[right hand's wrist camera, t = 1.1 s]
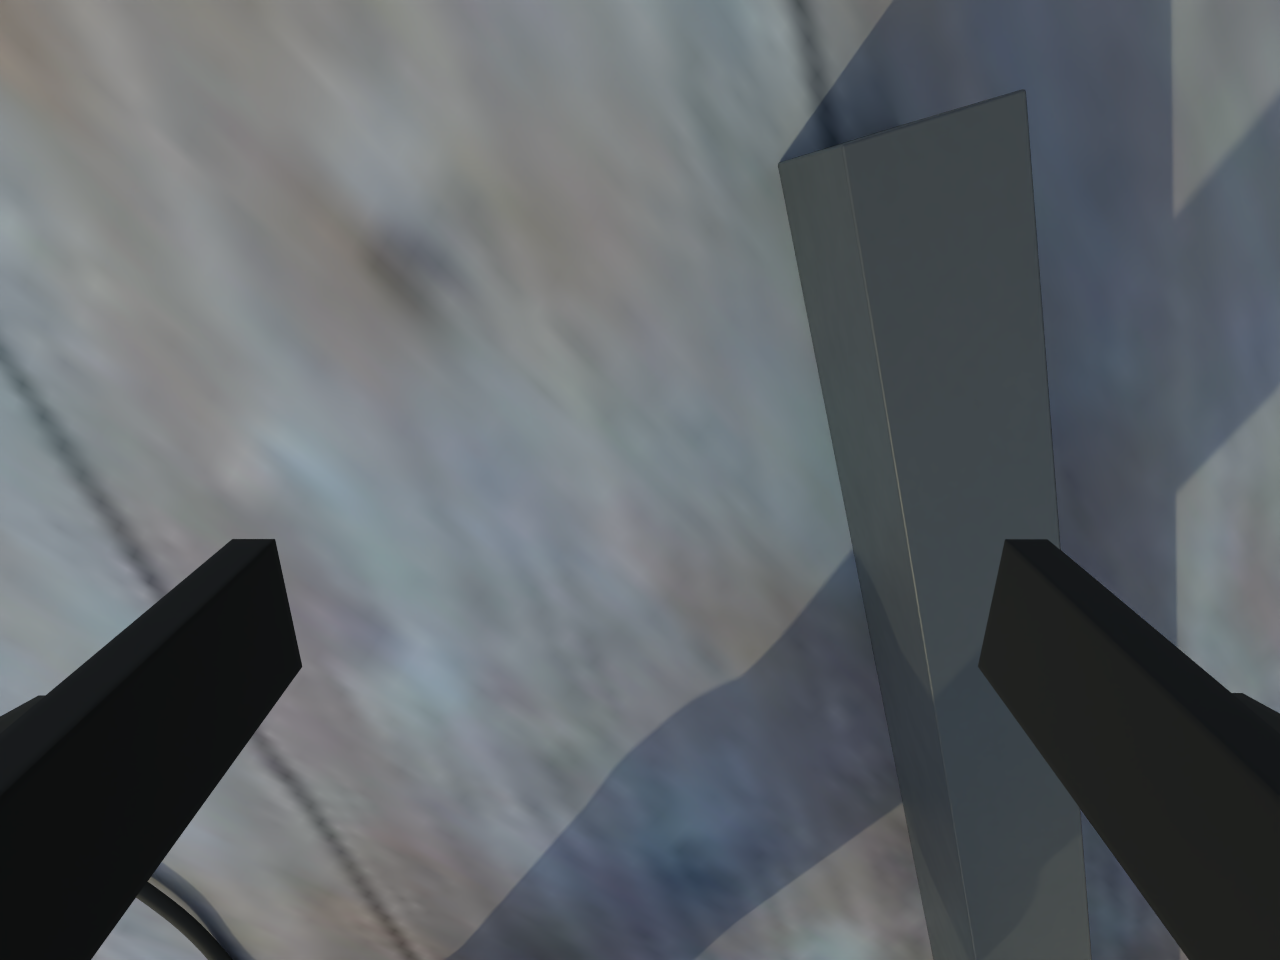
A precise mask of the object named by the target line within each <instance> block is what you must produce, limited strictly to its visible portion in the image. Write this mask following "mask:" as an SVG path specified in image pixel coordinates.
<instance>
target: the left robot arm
mask: <svg viewBox="0 0 1280 960" xmlns="http://www.w3.org/2000/svg"><path fill="white" fill-rule="evenodd" d="M136 898H138V899H139V900H140V901H142V902H143V903H145V904H146V905H147V906H149V907H150V908H152V909H153V910H154V911H156V912H157V913H158V914H160V915H161V916H162V917H163V918H165V919H166V920H167V921H169V922H170V923H171V924H172V925H173V926H175V927H176V928H177V929H178V930H179V931H180V932H181V933H183V934H184V935H185V936H186V937H187V938H188V939H189V940H190V941H191V942H192V943H193V944H194V945H195V946H196V947H197V948H198V949H199V950H200V951H201V952H202V954H203V955H204V956H205V957H206V958H207V959H208V960H233V959H232V958H231V957H230V956H229V955H228V953H227V952H226V951H225V950H224V949H223V948H222V946H221V945H220V944H219V943H218V942H217V941H216V940H215V939H214V937H213V936H212V935H211V934H210V933H209V932H208V931H207V930H206V929H205V928H204V927H203V926H202V925H201V924H200V923H199V922H198V921H197V920H196V919H195V918H194V917H192V916H191V915H190V914H189V913H188V912H187V911H186V910H184V909H183V908H182V907H181V906H179V905H178V904H177V903H176V902H174V901H173V900H172V899H171V898H169V897H168V896H167V895H165V894H164V893H163V892H161V891H160V890H158V889H157V888H156V887H154V886H153V885H151V884H150V883H149V882H147V883H146V884H145V885H144V887H143V888H142V890H141V891H140V892H139V894H138V895H137V896H136Z"/></svg>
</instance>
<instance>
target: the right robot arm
mask: <svg viewBox="0 0 1280 960" xmlns="http://www.w3.org/2000/svg"><path fill="white" fill-rule="evenodd" d="M301 668H302V663H301V659H300V654H299V649H298V645H297V640H296V635H295V630H294V626H293V621H292V616H291V612H290V607H289V602H288V598H287V593H286V588H285V584H284V579H283V574H282V570H281V565H280V560H279V555H278V551H277V546H276V541H275V539H232V540H231V541H230V542H228V543H227V544H226V545H225V546H224V547H223V548H221V549H220V550H219V551H218V552H217V553H215V554H214V555H213V556H212V557H211V558H209V559H208V560H207V561H206V562H205V563H203V564H202V565H201V566H200V567H199V568H197V569H196V570H195V571H194V572H193V573H191V574H190V575H189V576H188V577H187V578H185V579H184V580H183V581H182V582H181V583H180V584H178V585H177V586H176V587H175V588H174V589H172V590H171V591H170V592H169V593H168V594H166V595H165V596H164V597H163V598H162V599H160V600H159V601H158V602H157V603H156V604H154V605H153V606H152V607H151V608H150V609H148V610H147V611H146V612H145V613H144V614H142V615H141V616H140V617H139V618H138V619H137V620H135V621H134V622H133V623H132V624H131V625H129V626H128V627H127V628H126V629H125V630H123V631H122V632H121V633H120V634H119V635H117V636H116V637H115V638H114V639H113V640H111V641H110V642H109V643H108V644H107V645H105V646H104V647H103V648H102V649H101V650H99V651H98V652H97V653H96V654H95V655H94V656H92V657H91V658H90V659H89V660H88V661H86V662H85V663H84V664H83V665H82V666H80V667H79V668H78V669H77V670H76V671H74V672H73V673H72V674H71V675H70V676H68V677H67V678H66V679H65V680H64V681H62V682H61V683H60V684H59V685H58V686H56V687H55V688H54V689H53V690H52V691H51V692H49V693H48V694H47V695H46V696H37V697H35V698H33V699H31V700H30V701H28V702H26V703H24V704H22V705H21V706H19V707H17V708H15V709H13V710H11V711H10V712H8V713H6V714H4V715H2V716H1V717H0V960H91V959H92V958H93V956H94V955H95V953H96V952H97V951H98V949H99V948H100V946H101V945H102V944H103V942H104V941H105V939H106V938H107V937H108V935H109V934H110V933H111V931H112V930H113V928H114V927H115V926H116V924H117V923H118V921H119V920H120V919H121V917H122V916H123V915H124V913H125V912H126V910H127V909H128V908H129V906H130V905H131V903H132V902H133V901H134V899H135V898H136V896H137V895H138V894H139V892H140V891H141V890H142V888H143V887H144V885H145V884H146V883H147V881H148V880H149V878H150V877H151V876H152V874H153V873H154V872H155V870H156V869H157V867H158V866H159V865H160V863H161V862H162V860H163V859H164V858H165V856H166V855H167V853H168V852H169V851H170V849H171V848H172V847H173V845H174V844H175V842H176V841H177V840H178V838H179V837H180V835H181V834H182V833H183V831H184V830H185V828H186V827H187V826H188V824H189V823H190V822H191V820H192V819H193V817H194V816H195V815H196V813H197V812H198V810H199V809H200V808H201V806H202V805H203V804H204V802H205V801H206V799H207V798H208V797H209V795H210V794H211V792H212V791H213V790H214V788H215V787H216V785H217V784H218V783H219V781H220V780H221V779H222V777H223V776H224V774H225V773H226V772H227V770H228V769H229V767H230V766H231V765H232V763H233V762H234V761H235V759H236V758H237V756H238V755H239V754H240V752H241V751H242V749H243V748H244V747H245V745H246V744H247V742H248V741H249V740H250V738H251V737H252V736H253V734H254V733H255V731H256V730H257V729H258V727H259V726H260V724H261V723H262V722H263V720H264V719H265V718H266V716H267V715H268V713H269V712H270V711H271V709H272V708H273V706H274V705H275V704H276V702H277V701H278V699H279V698H280V697H281V695H282V694H283V693H284V691H285V690H286V688H287V687H288V686H289V684H290V683H291V681H292V680H293V679H294V677H295V676H296V675H297V673H298V672H299V670H300V669H301ZM978 668H979V669H980V670H981V672H982V673H983V675H984V676H985V677H986V679H987V680H988V681H989V683H990V684H991V686H992V687H993V688H994V690H995V691H996V693H997V694H998V695H999V697H1000V698H1001V699H1002V701H1003V702H1004V704H1005V705H1006V706H1007V708H1008V709H1009V711H1010V712H1011V713H1012V715H1013V716H1014V718H1015V719H1016V720H1017V722H1018V723H1019V724H1020V726H1021V727H1022V729H1023V730H1024V731H1025V733H1026V734H1027V736H1028V737H1029V738H1030V740H1031V741H1032V742H1033V744H1034V745H1035V747H1036V748H1037V749H1038V751H1039V752H1040V754H1041V755H1042V756H1043V758H1044V759H1045V761H1046V762H1047V763H1048V765H1049V766H1050V767H1051V769H1052V770H1053V772H1054V773H1055V774H1056V776H1057V777H1058V779H1059V780H1060V781H1061V783H1062V784H1063V785H1064V787H1065V788H1066V790H1067V791H1068V792H1069V794H1070V795H1071V797H1072V798H1073V799H1074V801H1075V802H1076V804H1077V805H1078V806H1079V808H1080V809H1081V810H1082V812H1083V813H1084V815H1085V816H1086V817H1087V819H1088V820H1089V822H1090V823H1091V824H1092V826H1093V827H1094V828H1095V830H1096V831H1097V833H1098V834H1099V835H1100V837H1101V838H1102V840H1103V841H1104V842H1105V844H1106V845H1107V847H1108V848H1109V849H1110V851H1111V852H1112V853H1113V855H1114V856H1115V858H1116V859H1117V860H1118V862H1119V863H1120V865H1121V866H1122V867H1123V869H1124V870H1125V871H1126V873H1127V874H1128V876H1129V877H1130V878H1131V880H1132V881H1133V883H1134V884H1135V885H1136V887H1137V888H1138V890H1139V891H1140V892H1141V894H1142V895H1143V896H1144V898H1145V899H1146V901H1147V902H1148V903H1149V905H1150V906H1151V908H1152V909H1153V910H1154V912H1155V913H1156V915H1157V916H1158V917H1159V919H1160V920H1161V921H1162V923H1163V924H1164V926H1165V927H1166V928H1167V930H1168V931H1169V933H1170V934H1171V935H1172V937H1173V938H1174V939H1175V941H1176V942H1177V944H1178V945H1179V946H1180V948H1181V949H1182V951H1183V952H1184V953H1185V955H1186V956H1187V958H1188V959H1189V960H1280V713H1278V712H1276V711H1274V710H1272V709H1270V708H1269V707H1267V706H1265V705H1263V704H1261V703H1259V702H1258V701H1256V700H1254V699H1252V698H1250V697H1248V696H1247V695H1245V694H1243V693H1231V692H1229V691H1228V690H1227V689H1226V688H1225V687H1224V686H1222V685H1221V684H1220V683H1219V682H1218V681H1216V680H1215V679H1214V678H1213V677H1212V676H1210V675H1209V674H1208V673H1207V672H1206V671H1204V670H1203V669H1202V668H1201V667H1200V666H1198V665H1197V664H1196V663H1195V662H1194V661H1192V660H1191V659H1190V658H1189V657H1188V656H1186V655H1185V654H1184V653H1183V652H1182V651H1181V650H1179V649H1178V648H1177V647H1176V646H1175V645H1173V644H1172V643H1171V642H1170V641H1169V640H1167V639H1166V638H1165V637H1164V636H1163V635H1161V634H1160V633H1159V632H1158V631H1157V630H1155V629H1154V628H1153V627H1152V626H1151V625H1149V624H1148V623H1147V622H1146V621H1145V620H1143V619H1142V618H1141V617H1140V616H1139V615H1138V614H1136V613H1135V612H1134V611H1133V610H1132V609H1130V608H1129V607H1128V606H1127V605H1126V604H1124V603H1123V602H1122V601H1121V600H1120V599H1118V598H1117V597H1116V596H1115V595H1114V594H1112V593H1111V592H1110V591H1109V590H1108V589H1106V588H1105V587H1104V586H1103V585H1102V584H1100V583H1099V582H1098V581H1097V580H1096V579H1095V578H1093V577H1092V576H1091V575H1090V574H1089V573H1087V572H1086V571H1085V570H1084V569H1083V568H1081V567H1080V566H1079V565H1078V564H1077V563H1075V562H1074V561H1073V560H1072V559H1071V558H1069V557H1068V556H1067V555H1066V554H1065V553H1063V552H1062V551H1061V550H1060V549H1059V548H1057V547H1056V546H1055V545H1054V544H1053V543H1052V542H1050V541H1049V540H1048V539H1005V541H1004V546H1003V551H1002V556H1001V560H1000V565H999V570H998V574H997V579H996V584H995V588H994V593H993V598H992V602H991V607H990V612H989V616H988V621H987V626H986V630H985V635H984V640H983V645H982V649H981V654H980V659H979V663H978Z"/></svg>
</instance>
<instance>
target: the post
mask: <svg viewBox="0 0 1280 960" xmlns="http://www.w3.org/2000/svg"><path fill="white" fill-rule="evenodd" d="M778 168H779V173H780V178H781V183H782V188H783V193H784V198H785V203H786V209H787V214H788V219H789V224H790V229H791V234H792V239H793V244H794V249H795V255H796V260H797V265H798V270H799V275H800V280H801V285H802V290H803V295H804V301H805V306H806V311H807V316H808V321H809V326H810V331H811V336H812V341H813V346H814V352H815V357H816V362H817V367H818V372H819V377H820V382H821V387H822V392H823V398H824V403H825V408H826V413H827V418H828V423H829V428H830V433H831V438H832V444H833V449H834V454H835V459H836V464H837V469H838V474H839V479H840V484H841V490H842V495H843V500H844V505H845V510H846V515H847V520H848V525H849V530H850V535H851V541H852V546H853V551H854V556H855V561H856V566H857V571H858V576H859V581H860V587H861V592H862V597H863V602H864V607H865V612H866V617H867V622H868V627H869V633H870V638H871V643H872V648H873V653H874V658H875V663H876V668H877V673H878V678H879V684H880V689H881V694H882V699H883V704H884V709H885V714H886V719H887V724H888V730H889V735H890V740H891V745H892V750H893V755H894V760H895V765H896V770H897V776H898V781H899V786H900V791H901V796H902V801H903V806H904V811H905V816H906V822H907V827H908V832H909V837H910V842H911V847H912V852H913V857H914V862H915V867H916V873H917V878H918V883H919V888H920V893H921V898H922V903H923V908H924V913H925V919H926V924H927V929H928V934H929V939H930V944H931V949H932V954H933V959H934V960H1092V958H1091V945H1090V932H1089V919H1088V905H1087V892H1086V879H1085V866H1084V853H1083V839H1082V826H1081V813H1080V808H1079V806H1078V805H1077V804H1076V802H1075V801H1074V799H1073V798H1072V797H1071V795H1070V794H1069V792H1068V791H1067V790H1066V788H1065V787H1064V785H1063V784H1062V783H1061V781H1060V780H1059V779H1058V777H1057V776H1056V774H1055V773H1054V772H1053V770H1052V769H1051V767H1050V766H1049V765H1048V763H1047V762H1046V761H1045V759H1044V758H1043V756H1042V755H1041V754H1040V752H1039V751H1038V749H1037V748H1036V747H1035V745H1034V744H1033V742H1032V741H1031V740H1030V738H1029V737H1028V736H1027V734H1026V733H1025V731H1024V730H1023V729H1022V727H1021V726H1020V724H1019V723H1018V722H1017V720H1016V719H1015V718H1014V716H1013V715H1012V713H1011V712H1010V711H1009V709H1008V708H1007V706H1006V705H1005V704H1004V702H1003V701H1002V699H1001V698H1000V697H999V695H998V694H997V693H996V691H995V690H994V688H993V687H992V686H991V684H990V683H989V681H988V680H987V679H986V677H985V676H984V675H983V673H982V672H981V670H980V669H979V668H978V663H979V659H980V654H981V649H982V645H983V640H984V635H985V630H986V626H987V621H988V616H989V612H990V607H991V602H992V598H993V593H994V588H995V584H996V579H997V574H998V570H999V565H1000V560H1001V556H1002V551H1003V546H1004V541H1005V539H1048V540H1049V541H1050V542H1052V543H1053V544H1054V545H1055V546H1056V547H1057V548H1059V549H1060V536H1059V523H1058V510H1057V497H1056V483H1055V470H1054V457H1053V444H1052V431H1051V418H1050V404H1049V391H1048V378H1047V365H1046V352H1045V338H1044V325H1043V312H1042V299H1041V286H1040V272H1039V259H1038V246H1037V233H1036V220H1035V207H1034V193H1033V180H1032V167H1031V154H1030V141H1029V127H1028V114H1027V101H1026V91H1025V90H1019V91H1016V92H1012V93H1009V94H1006V95H1002V96H999V97H995V98H992V99H989V100H985V101H982V102H978V103H975V104H972V105H968V106H965V107H961V108H958V109H955V110H951V111H948V112H945V113H941V114H938V115H934V116H931V117H928V118H924V119H921V120H917V121H914V122H911V123H907V124H904V125H901V126H897V127H894V128H891V129H887V130H884V131H881V132H878V133H874V134H871V135H868V136H865V137H861V138H858V139H855V140H852V141H848V142H845V143H842V144H839V145H835V146H832V147H829V148H825V149H822V150H819V151H816V152H812V153H809V154H806V155H803V156H799V157H796V158H793V159H790V160H786V161H783V162H780V163H779V164H778ZM1060 550H1061V549H1060Z"/></svg>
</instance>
